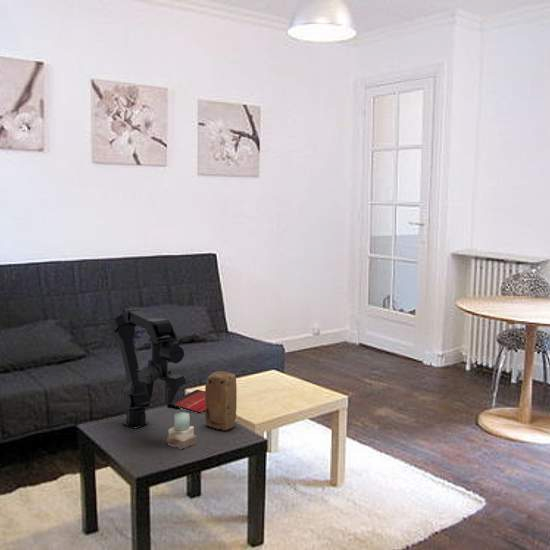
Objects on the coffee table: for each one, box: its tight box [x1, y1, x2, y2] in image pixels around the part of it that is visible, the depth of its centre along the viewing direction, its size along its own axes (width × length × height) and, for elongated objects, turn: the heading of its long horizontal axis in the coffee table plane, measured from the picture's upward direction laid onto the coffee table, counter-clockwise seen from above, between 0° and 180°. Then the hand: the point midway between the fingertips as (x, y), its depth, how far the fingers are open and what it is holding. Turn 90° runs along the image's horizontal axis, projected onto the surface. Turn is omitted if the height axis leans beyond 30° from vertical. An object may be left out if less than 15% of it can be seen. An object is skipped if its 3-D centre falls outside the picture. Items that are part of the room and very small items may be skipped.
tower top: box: [168, 425, 195, 441], centre depth 214 cm, size 6×6×3 cm
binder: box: [166, 389, 206, 414], centre depth 257 cm, size 16×2×21 cm
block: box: [204, 370, 238, 431], centre depth 230 cm, size 11×8×20 cm
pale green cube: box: [173, 411, 191, 431], centre depth 214 cm, size 5×5×4 cm
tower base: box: [166, 434, 198, 448], centre depth 215 cm, size 7×7×3 cm
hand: (159, 401), depth 219 cm, fingers open, 9 cm apart
